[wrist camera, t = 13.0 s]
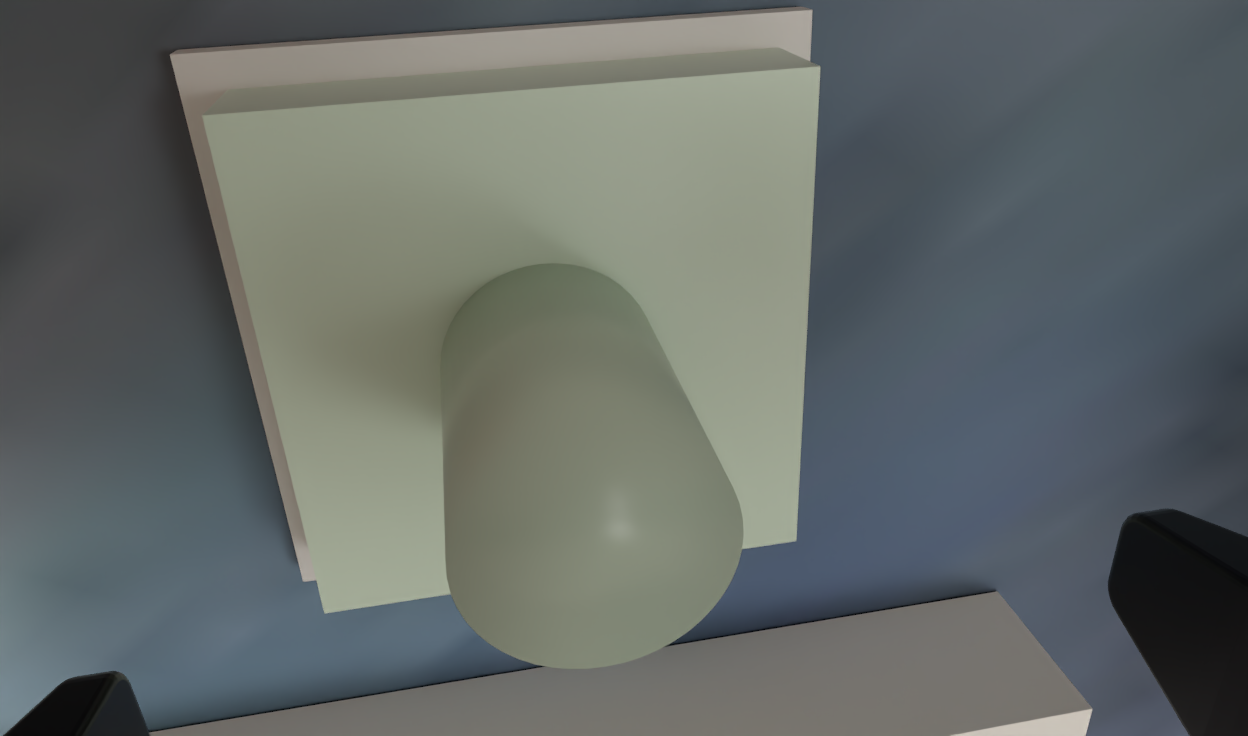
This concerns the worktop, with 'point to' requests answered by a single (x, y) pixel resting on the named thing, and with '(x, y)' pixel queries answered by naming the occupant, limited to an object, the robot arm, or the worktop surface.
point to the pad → (432, 53)
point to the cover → (534, 332)
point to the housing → (746, 687)
